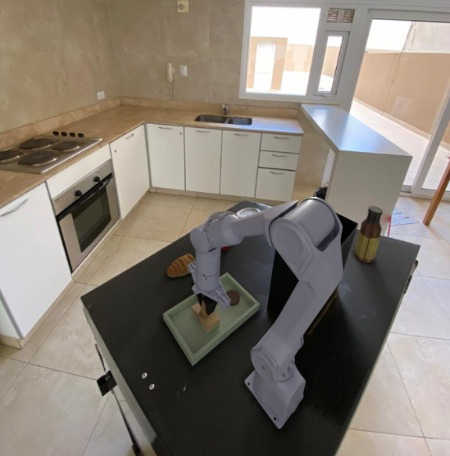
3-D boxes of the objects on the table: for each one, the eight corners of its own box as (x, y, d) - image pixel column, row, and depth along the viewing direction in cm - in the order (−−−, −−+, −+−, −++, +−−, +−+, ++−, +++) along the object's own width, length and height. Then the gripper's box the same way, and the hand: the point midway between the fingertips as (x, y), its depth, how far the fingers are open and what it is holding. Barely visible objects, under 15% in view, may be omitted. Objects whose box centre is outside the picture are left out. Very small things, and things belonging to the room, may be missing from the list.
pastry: (172, 284, 75) (172, 274, 74) (162, 270, 80) (162, 261, 79) (199, 269, 81) (199, 260, 80) (188, 257, 86) (188, 248, 84)
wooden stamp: (219, 325, 64) (222, 299, 61) (207, 334, 62) (209, 308, 59) (203, 305, 69) (205, 281, 66) (191, 313, 66) (192, 288, 64)
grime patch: (243, 300, 71) (243, 298, 71) (230, 308, 68) (231, 306, 68) (233, 289, 74) (233, 287, 74) (221, 297, 72) (221, 294, 71)
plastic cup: (223, 231, 99) (224, 205, 95) (243, 246, 92) (245, 219, 87) (201, 244, 92) (201, 216, 88) (220, 261, 85) (222, 232, 80)
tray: (259, 310, 69) (259, 303, 68) (192, 367, 56) (192, 360, 55) (226, 278, 78) (227, 272, 77) (163, 320, 65) (162, 313, 64)
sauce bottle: (374, 255, 90) (389, 208, 83) (372, 266, 85) (389, 217, 78) (354, 248, 94) (367, 201, 86) (351, 258, 89) (365, 210, 81)
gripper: (177, 256, 62) (178, 296, 67) (213, 297, 52) (211, 341, 57) (200, 244, 66) (200, 283, 71) (238, 280, 56) (235, 322, 61)
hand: (207, 308), depth 64 cm, fingers closed on wooden stamp, 2 cm apart
